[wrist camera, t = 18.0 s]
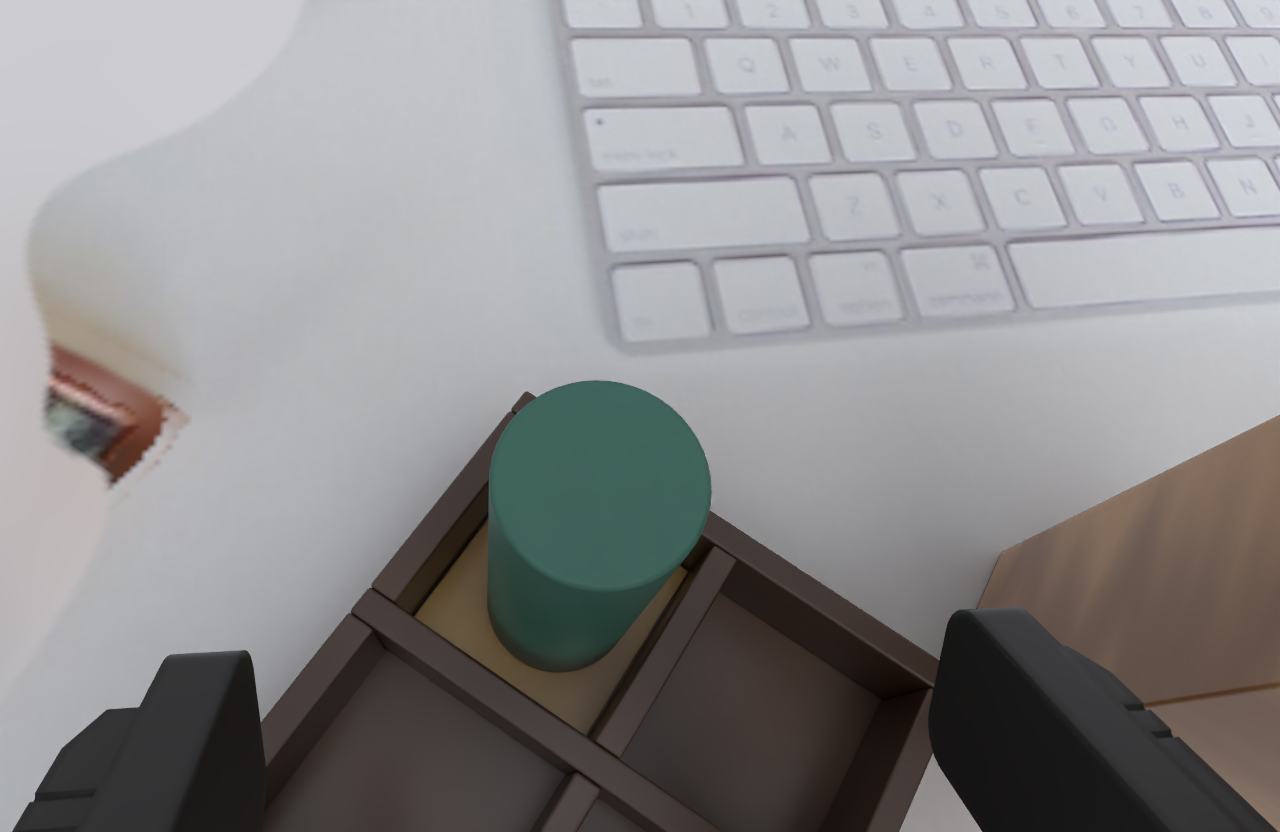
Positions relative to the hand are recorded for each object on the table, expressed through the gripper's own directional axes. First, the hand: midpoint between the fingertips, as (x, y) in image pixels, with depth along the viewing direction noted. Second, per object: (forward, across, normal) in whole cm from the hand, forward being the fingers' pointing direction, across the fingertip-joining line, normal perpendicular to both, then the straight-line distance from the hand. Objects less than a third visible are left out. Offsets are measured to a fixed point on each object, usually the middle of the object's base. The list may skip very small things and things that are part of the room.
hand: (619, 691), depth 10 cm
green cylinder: (+9, 0, +4) cm, 10 cm away
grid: (+7, -1, +8) cm, 10 cm away
